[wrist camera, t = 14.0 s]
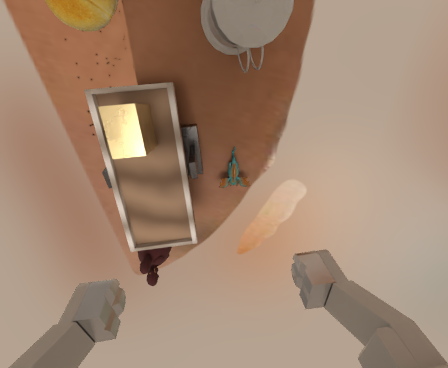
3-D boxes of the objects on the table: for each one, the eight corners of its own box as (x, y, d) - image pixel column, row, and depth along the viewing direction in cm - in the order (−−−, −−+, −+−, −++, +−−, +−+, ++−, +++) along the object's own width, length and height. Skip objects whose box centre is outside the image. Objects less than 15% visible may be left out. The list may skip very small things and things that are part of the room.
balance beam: (95, 91, 31) (84, 89, 28) (175, 84, 32) (172, 82, 29) (136, 240, 40) (130, 251, 37) (197, 232, 41) (197, 243, 38)
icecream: (178, 230, 53) (173, 285, 41) (150, 236, 53) (136, 294, 41) (169, 209, 50) (161, 263, 37) (139, 216, 50) (119, 272, 37)
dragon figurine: (216, 149, 47) (218, 186, 47) (216, 146, 39) (218, 189, 40) (245, 148, 47) (247, 184, 48) (251, 145, 40) (253, 187, 40)
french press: (262, -36, 29) (429, -251, 8) (268, 60, 36) (372, 75, 15) (192, -20, 29) (184, -193, 8) (211, 73, 36) (232, 106, 15)
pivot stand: (108, 132, 39) (88, 152, 32) (196, 124, 40) (196, 141, 32) (126, 179, 44) (112, 205, 37) (202, 170, 45) (204, 194, 38)
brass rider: (120, 107, 30) (98, 106, 24) (149, 104, 31) (134, 103, 24) (130, 148, 32) (112, 159, 26) (157, 146, 33) (146, 155, 26)
